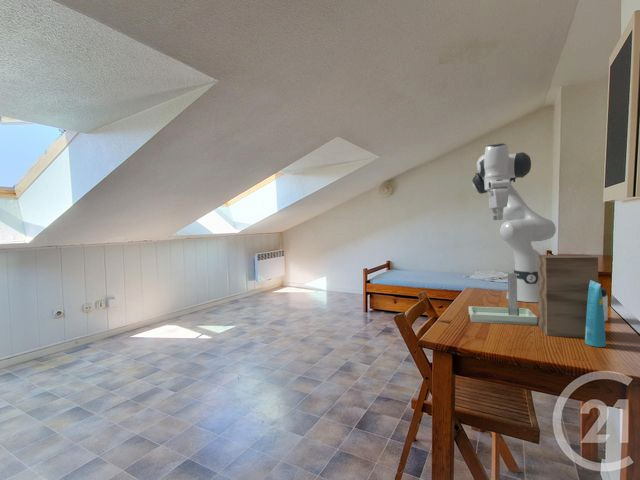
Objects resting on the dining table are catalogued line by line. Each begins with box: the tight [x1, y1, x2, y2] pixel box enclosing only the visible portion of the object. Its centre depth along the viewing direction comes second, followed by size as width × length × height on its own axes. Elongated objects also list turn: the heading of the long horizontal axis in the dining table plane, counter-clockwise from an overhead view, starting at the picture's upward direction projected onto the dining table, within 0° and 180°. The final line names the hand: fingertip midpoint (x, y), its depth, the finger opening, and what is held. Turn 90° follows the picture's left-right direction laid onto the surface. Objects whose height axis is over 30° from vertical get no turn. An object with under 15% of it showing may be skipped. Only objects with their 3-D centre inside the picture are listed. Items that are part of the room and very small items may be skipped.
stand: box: [537, 254, 599, 339], centre depth 112 cm, size 10×14×26 cm
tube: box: [584, 280, 607, 348], centre depth 100 cm, size 7×5×19 cm, turn 165°
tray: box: [468, 305, 538, 326], centre depth 130 cm, size 13×22×3 cm, turn 70°
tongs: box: [507, 272, 520, 316], centre depth 128 cm, size 3×17×3 cm
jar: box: [600, 286, 609, 322], centre depth 125 cm, size 9×8×12 cm
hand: (497, 220), depth 131 cm, fingers open, 8 cm apart
